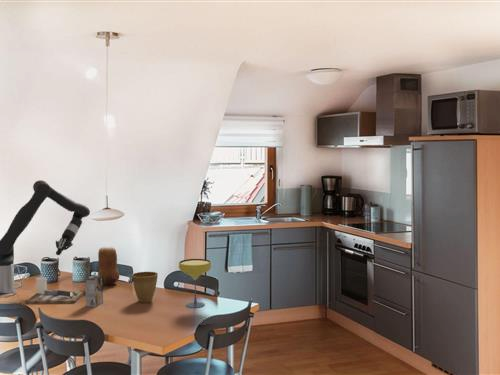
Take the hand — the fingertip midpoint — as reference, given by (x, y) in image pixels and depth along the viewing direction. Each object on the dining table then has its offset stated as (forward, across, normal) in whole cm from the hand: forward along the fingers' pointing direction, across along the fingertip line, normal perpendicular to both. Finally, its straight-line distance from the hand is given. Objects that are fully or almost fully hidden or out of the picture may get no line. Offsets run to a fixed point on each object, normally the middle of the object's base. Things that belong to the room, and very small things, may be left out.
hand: (57, 254), depth 341 cm
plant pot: (+15, +63, +18) cm, 67 cm away
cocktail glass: (+13, +94, +20) cm, 98 cm away
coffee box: (+27, +40, +6) cm, 49 cm away
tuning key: (+25, +9, +4) cm, 27 cm away
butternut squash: (-1, +19, +34) cm, 39 cm away
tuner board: (+26, +11, +6) cm, 29 cm away
